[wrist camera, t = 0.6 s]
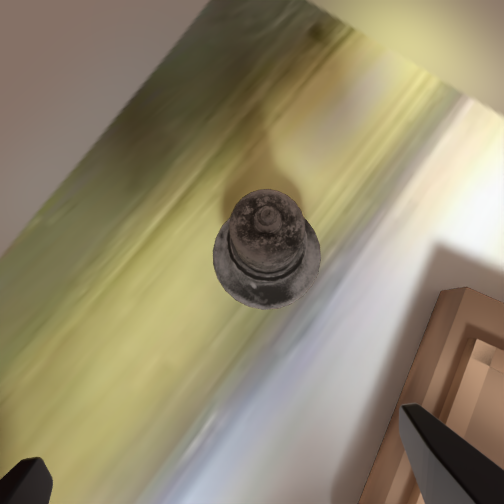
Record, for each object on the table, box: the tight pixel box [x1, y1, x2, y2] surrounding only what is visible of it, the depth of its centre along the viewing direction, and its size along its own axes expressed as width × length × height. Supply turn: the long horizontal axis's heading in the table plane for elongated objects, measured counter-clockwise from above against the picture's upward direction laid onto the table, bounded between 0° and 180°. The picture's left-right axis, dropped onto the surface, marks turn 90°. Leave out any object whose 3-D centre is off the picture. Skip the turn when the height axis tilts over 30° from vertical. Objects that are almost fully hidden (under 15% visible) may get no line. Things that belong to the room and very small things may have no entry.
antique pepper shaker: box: [213, 189, 321, 310], centre depth 18 cm, size 6×6×12 cm
